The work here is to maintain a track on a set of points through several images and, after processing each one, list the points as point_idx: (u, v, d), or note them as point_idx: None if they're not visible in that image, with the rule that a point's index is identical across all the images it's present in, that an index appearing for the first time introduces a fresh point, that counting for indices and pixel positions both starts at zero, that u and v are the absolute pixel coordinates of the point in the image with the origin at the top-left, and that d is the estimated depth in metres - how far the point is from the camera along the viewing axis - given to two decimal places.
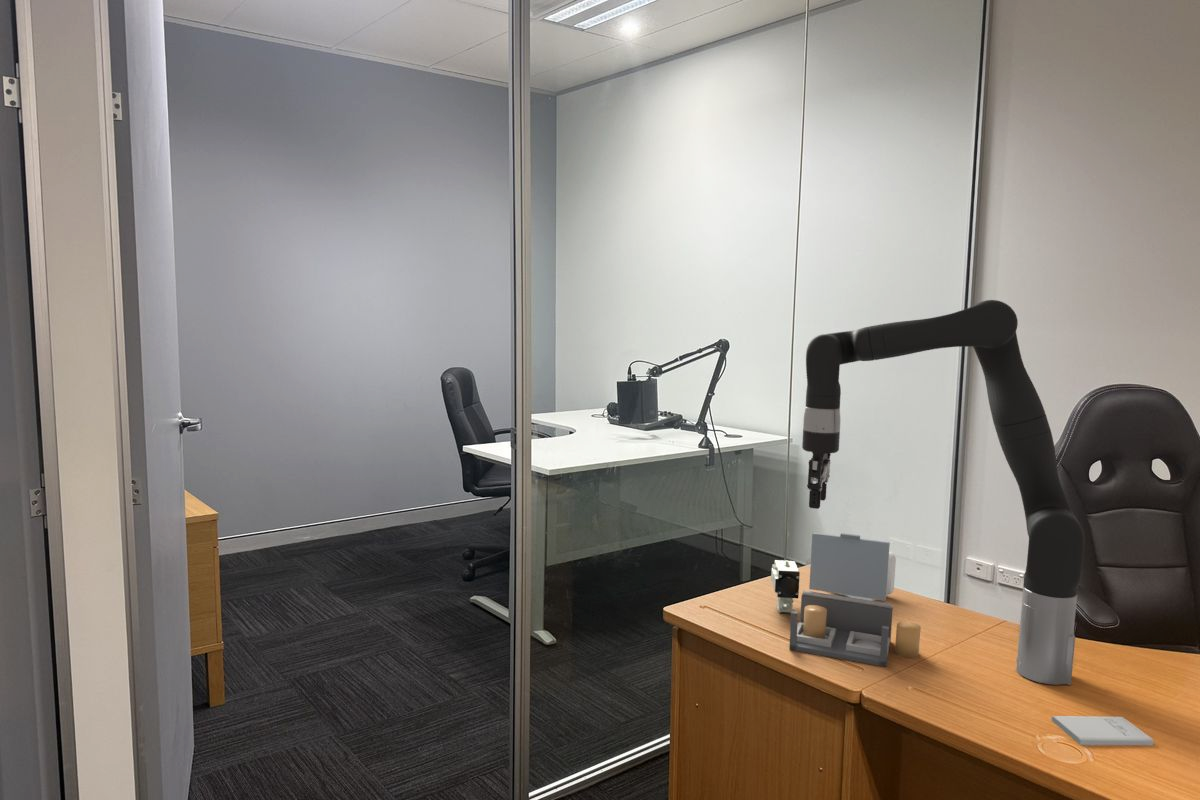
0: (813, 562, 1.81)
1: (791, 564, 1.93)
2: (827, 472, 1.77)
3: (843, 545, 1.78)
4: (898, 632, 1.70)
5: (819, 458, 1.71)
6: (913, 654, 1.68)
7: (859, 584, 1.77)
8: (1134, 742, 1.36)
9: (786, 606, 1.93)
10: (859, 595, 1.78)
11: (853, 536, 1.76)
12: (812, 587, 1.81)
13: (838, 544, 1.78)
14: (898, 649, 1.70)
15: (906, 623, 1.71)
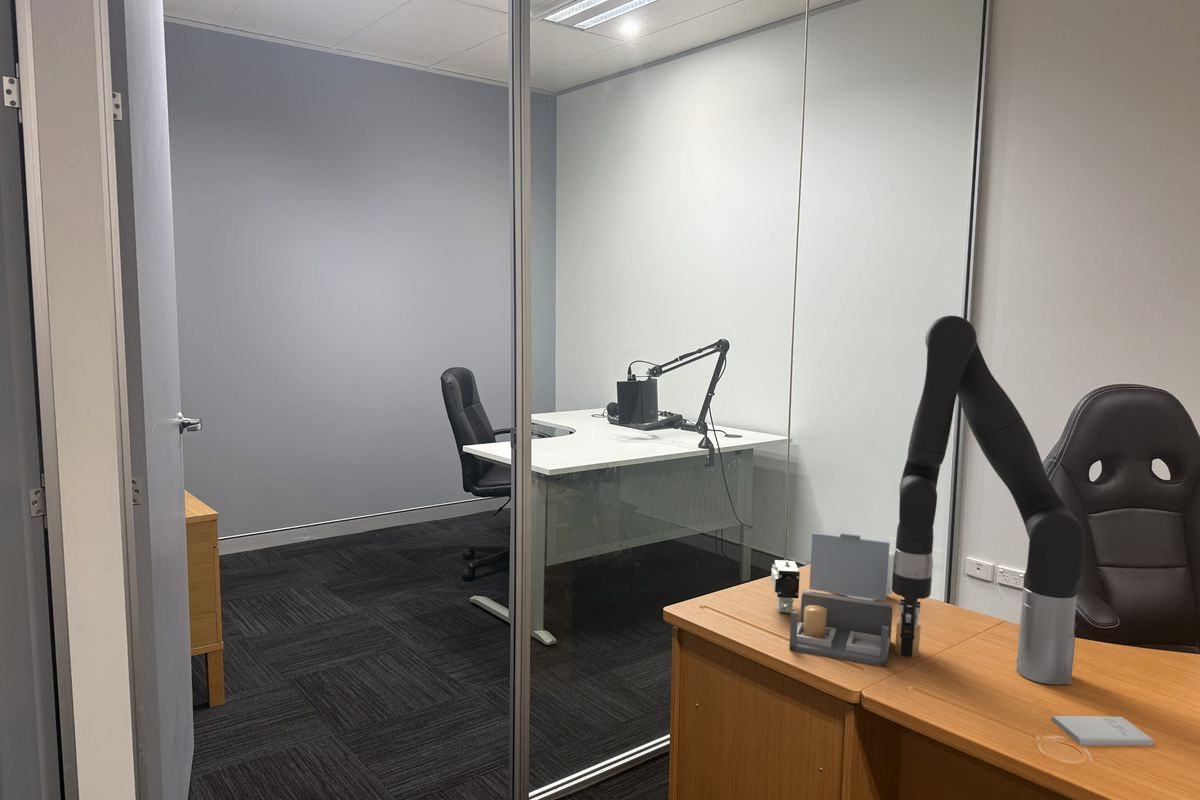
0: (813, 562, 1.81)
1: (791, 564, 1.93)
2: None
3: (843, 545, 1.78)
4: (898, 632, 1.70)
5: (911, 606, 1.66)
6: (913, 654, 1.68)
7: (859, 584, 1.77)
8: (1134, 742, 1.36)
9: (786, 606, 1.93)
10: (859, 595, 1.78)
11: (853, 536, 1.76)
12: (812, 587, 1.81)
13: (838, 544, 1.78)
14: (898, 649, 1.70)
15: None
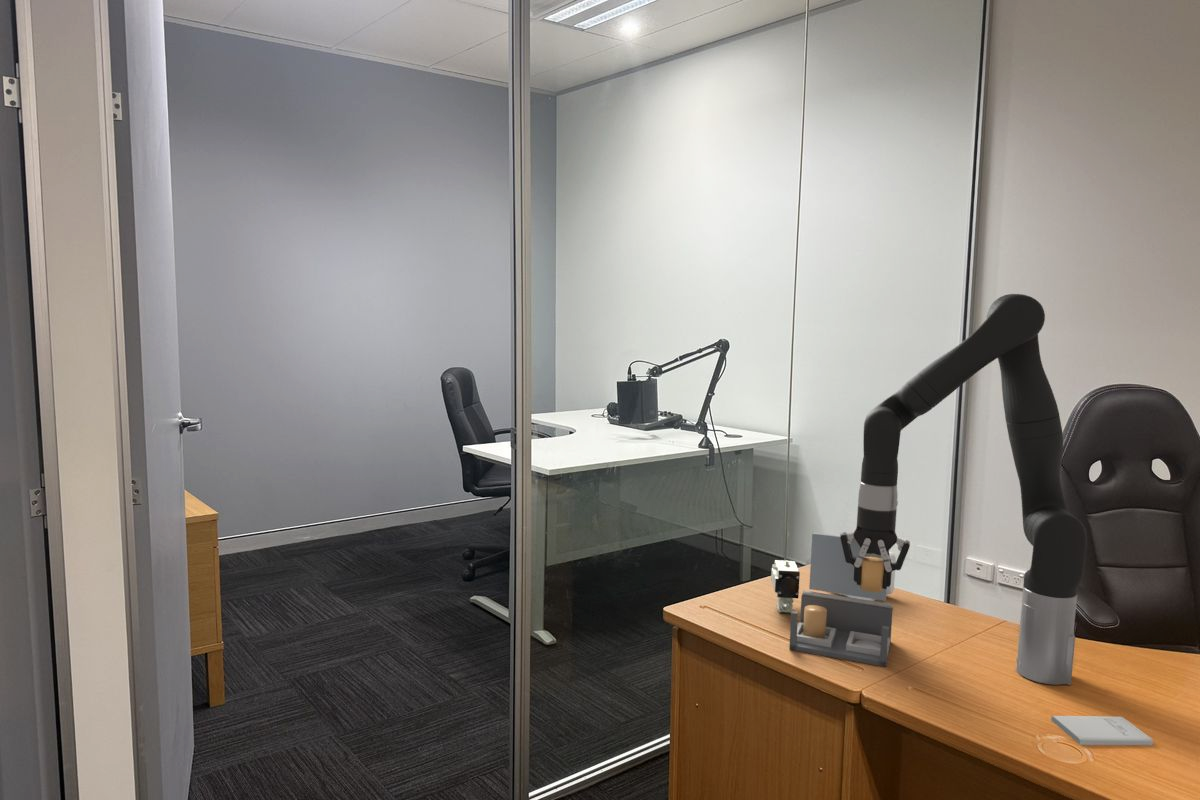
0: (813, 562, 1.81)
1: (791, 564, 1.93)
2: (881, 555, 1.67)
3: None
4: None
5: None
6: (861, 585, 1.69)
7: None
8: (1134, 742, 1.36)
9: (786, 606, 1.93)
10: (859, 595, 1.78)
11: None
12: (812, 587, 1.81)
13: (838, 544, 1.78)
14: None
15: (879, 560, 1.69)
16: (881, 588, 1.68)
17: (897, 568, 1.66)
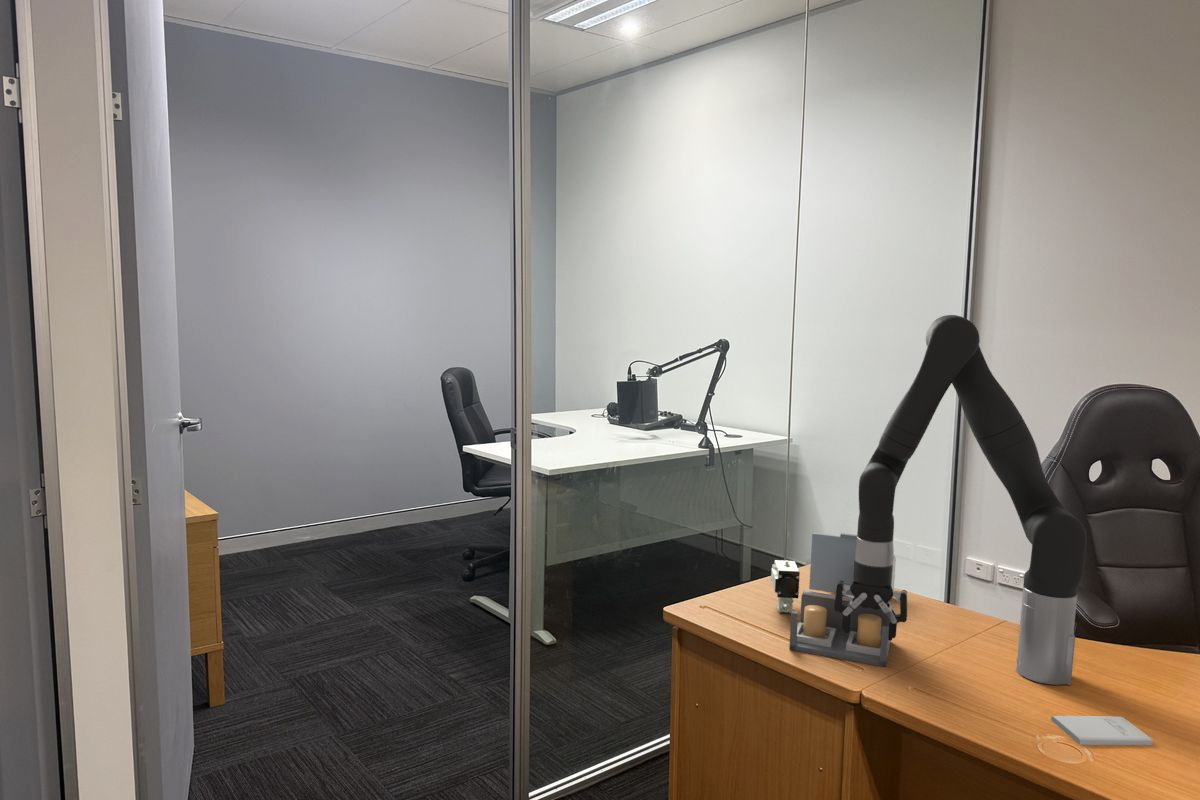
0: (813, 562, 1.81)
1: (791, 564, 1.93)
2: None
3: (843, 545, 1.78)
4: None
5: None
6: (858, 642, 1.71)
7: None
8: (1133, 742, 1.36)
9: (786, 606, 1.93)
10: None
11: (853, 536, 1.76)
12: (812, 587, 1.81)
13: (838, 544, 1.78)
14: None
15: (875, 617, 1.71)
16: (877, 646, 1.69)
17: (902, 620, 1.67)
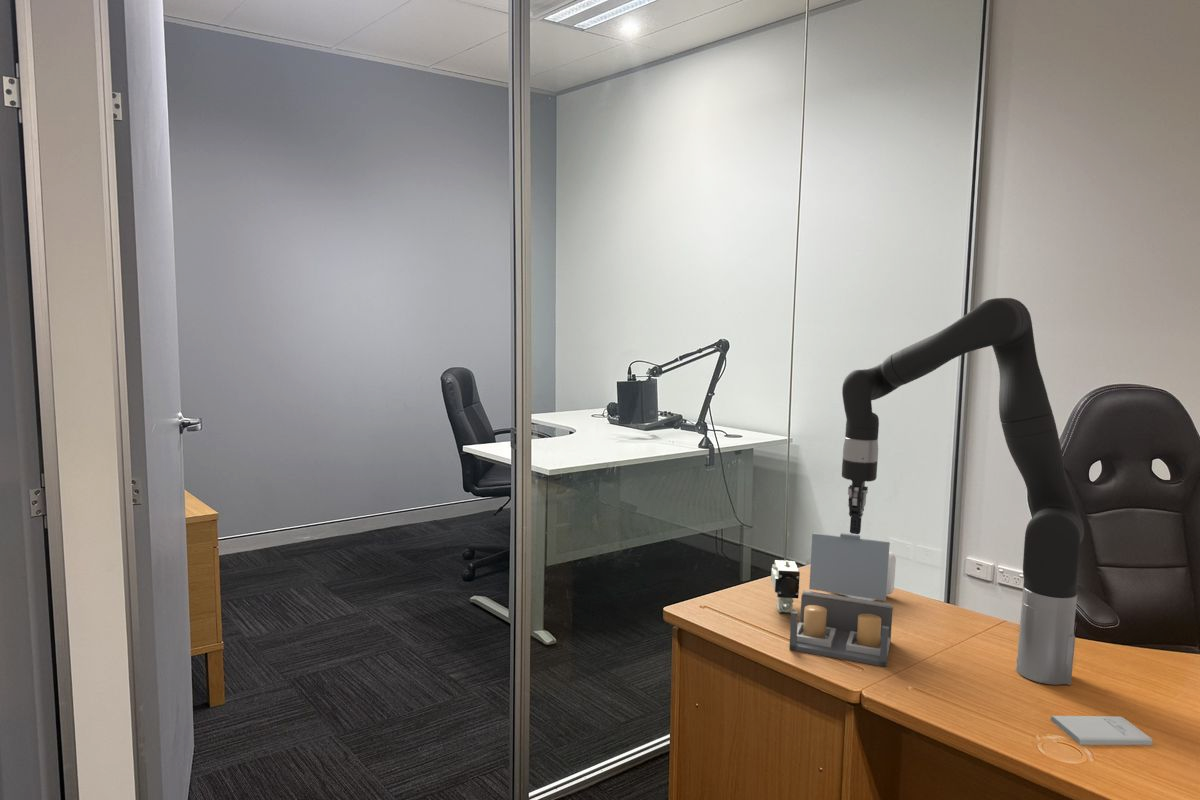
0: (813, 562, 1.81)
1: (791, 564, 1.93)
2: None
3: (843, 545, 1.78)
4: None
5: (858, 489, 1.82)
6: (858, 642, 1.71)
7: (859, 584, 1.77)
8: (1133, 742, 1.36)
9: (786, 606, 1.93)
10: (859, 595, 1.78)
11: (853, 536, 1.76)
12: (812, 587, 1.81)
13: (838, 544, 1.78)
14: None
15: (875, 617, 1.70)
16: (877, 646, 1.69)
17: (863, 510, 1.88)
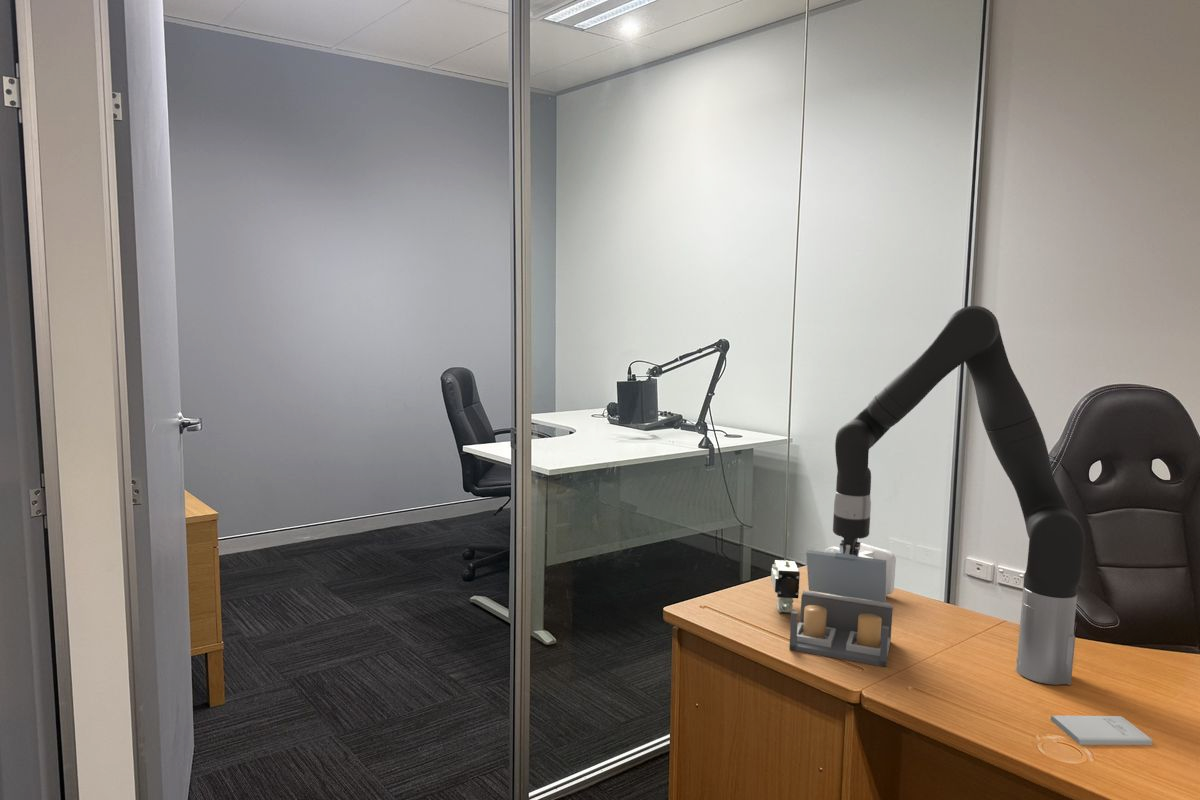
0: (810, 572, 1.77)
1: (791, 564, 1.93)
2: None
3: (839, 562, 1.72)
4: None
5: (850, 547, 1.74)
6: (857, 642, 1.71)
7: (858, 590, 1.76)
8: (1133, 742, 1.36)
9: (786, 606, 1.93)
10: (859, 597, 1.77)
11: (848, 558, 1.70)
12: (811, 589, 1.81)
13: (833, 561, 1.73)
14: None
15: (875, 617, 1.71)
16: (877, 646, 1.69)
17: None
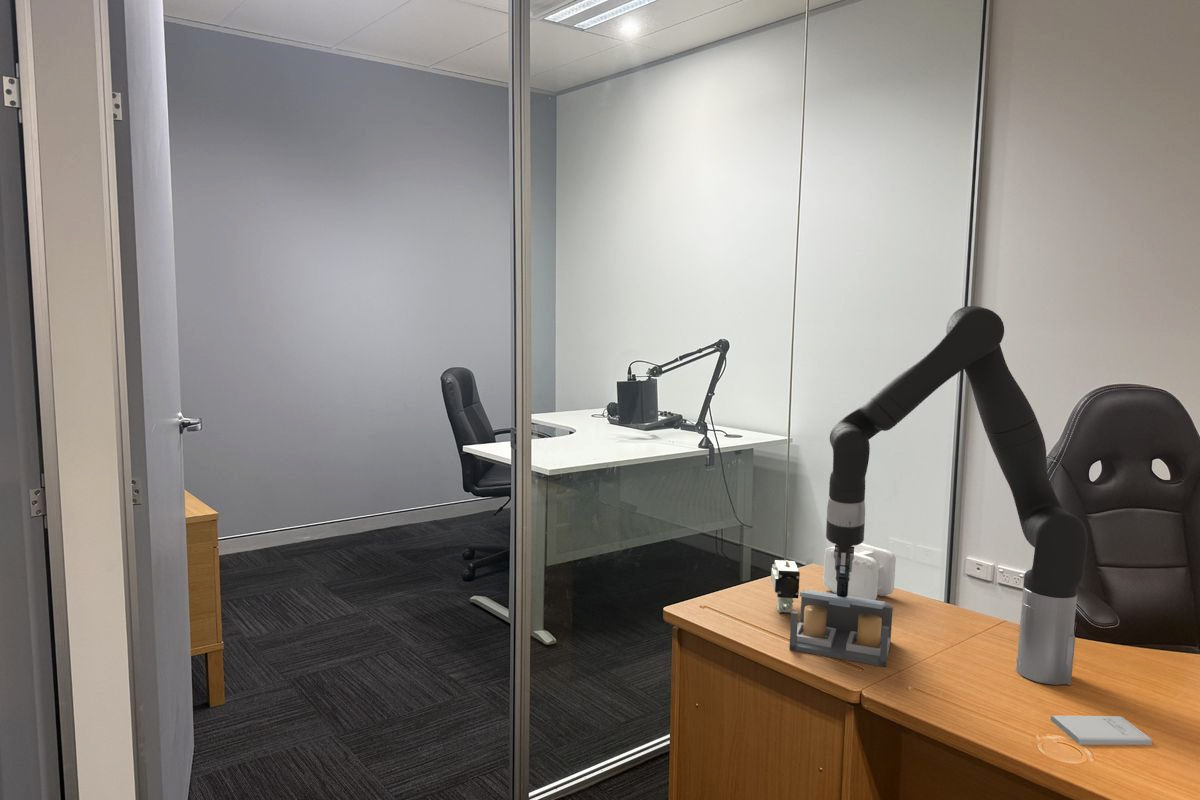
0: None
1: (791, 564, 1.93)
2: None
3: None
4: None
5: (845, 555, 1.67)
6: (857, 642, 1.71)
7: None
8: (1133, 742, 1.36)
9: (786, 606, 1.93)
10: None
11: (842, 605, 1.65)
12: None
13: None
14: None
15: (875, 617, 1.70)
16: (877, 646, 1.69)
17: None
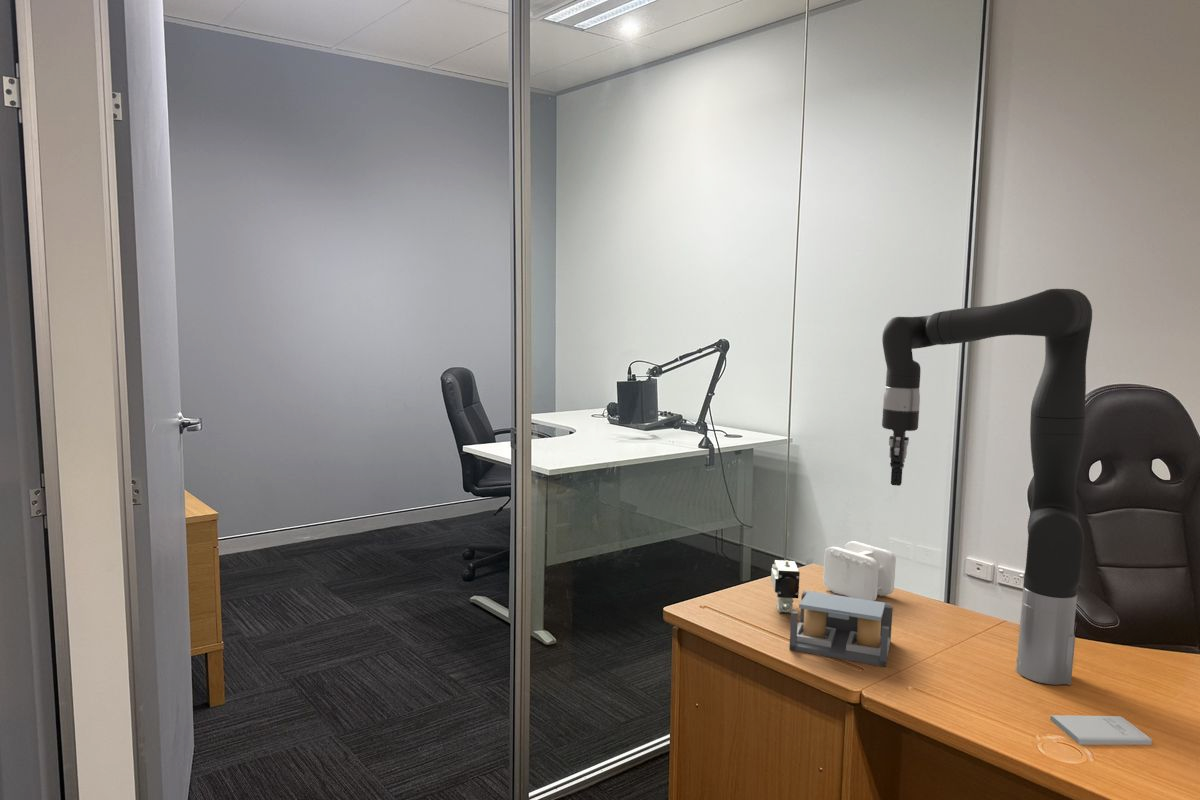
0: None
1: (791, 564, 1.93)
2: None
3: None
4: None
5: (900, 439, 1.78)
6: (857, 641, 1.71)
7: None
8: (1132, 742, 1.36)
9: (786, 606, 1.93)
10: None
11: (842, 618, 1.65)
12: None
13: None
14: None
15: None
16: (876, 646, 1.69)
17: None
